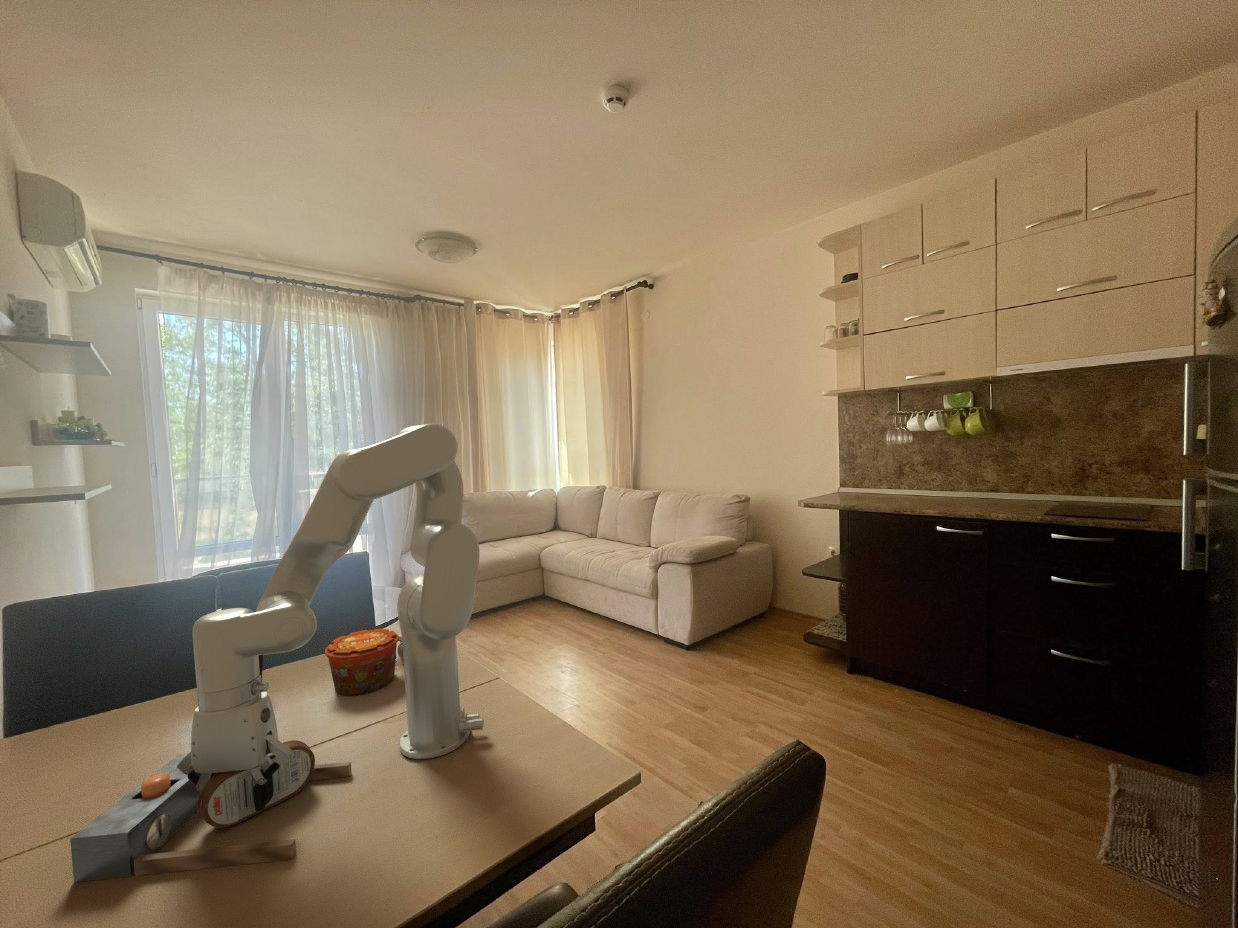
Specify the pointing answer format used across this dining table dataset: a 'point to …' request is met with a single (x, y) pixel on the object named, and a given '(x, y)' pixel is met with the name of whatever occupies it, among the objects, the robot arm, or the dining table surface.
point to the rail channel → (232, 853)
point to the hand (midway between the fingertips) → (239, 806)
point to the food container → (362, 661)
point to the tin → (234, 790)
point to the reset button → (155, 785)
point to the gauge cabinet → (133, 828)
